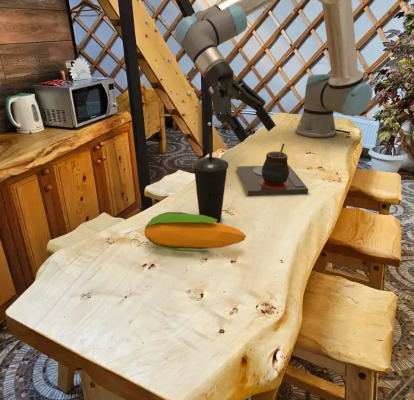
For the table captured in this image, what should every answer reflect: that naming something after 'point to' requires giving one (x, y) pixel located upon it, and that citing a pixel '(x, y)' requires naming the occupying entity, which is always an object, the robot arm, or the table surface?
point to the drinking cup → (210, 184)
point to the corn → (190, 232)
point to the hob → (259, 187)
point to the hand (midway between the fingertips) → (259, 133)
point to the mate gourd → (275, 168)
